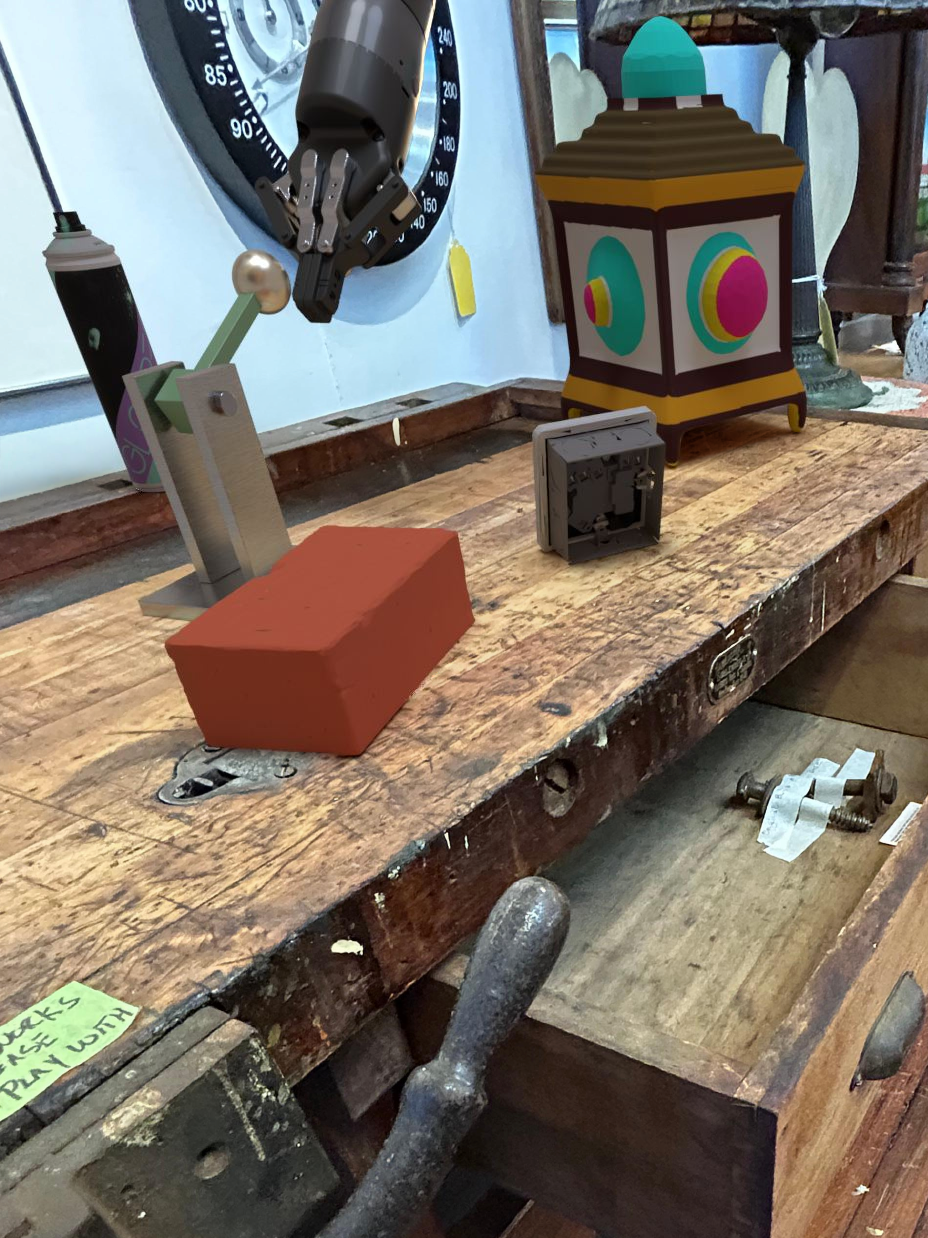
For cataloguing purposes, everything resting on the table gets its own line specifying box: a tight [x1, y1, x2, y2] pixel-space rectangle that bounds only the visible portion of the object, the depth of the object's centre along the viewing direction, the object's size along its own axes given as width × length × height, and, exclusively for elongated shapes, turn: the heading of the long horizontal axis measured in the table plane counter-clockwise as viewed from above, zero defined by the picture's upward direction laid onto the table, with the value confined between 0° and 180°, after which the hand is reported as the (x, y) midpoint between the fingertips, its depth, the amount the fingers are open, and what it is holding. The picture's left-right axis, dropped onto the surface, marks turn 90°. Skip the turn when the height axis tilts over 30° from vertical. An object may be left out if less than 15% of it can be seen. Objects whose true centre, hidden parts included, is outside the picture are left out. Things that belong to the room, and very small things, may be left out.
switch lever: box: [154, 249, 292, 434], centre depth 67 cm, size 14×4×4 cm, turn 163°
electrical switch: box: [531, 406, 666, 565], centre depth 74 cm, size 9×5×9 cm, turn 122°
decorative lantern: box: [534, 15, 808, 467], centre depth 91 cm, size 20×20×30 cm
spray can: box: [41, 210, 166, 493], centre depth 87 cm, size 6×6×20 cm
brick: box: [164, 524, 476, 757], centre depth 59 cm, size 18×9×6 cm, turn 171°
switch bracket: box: [122, 360, 298, 622], centre depth 68 cm, size 12×9×14 cm
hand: (312, 315), depth 73 cm, fingers closed
